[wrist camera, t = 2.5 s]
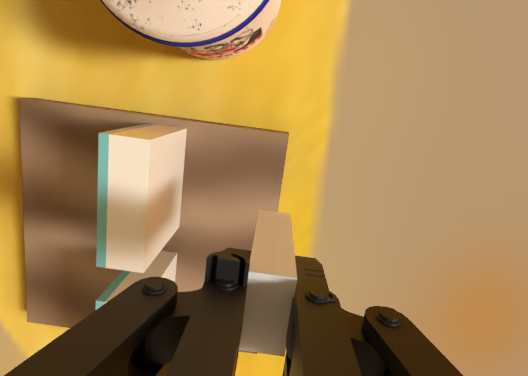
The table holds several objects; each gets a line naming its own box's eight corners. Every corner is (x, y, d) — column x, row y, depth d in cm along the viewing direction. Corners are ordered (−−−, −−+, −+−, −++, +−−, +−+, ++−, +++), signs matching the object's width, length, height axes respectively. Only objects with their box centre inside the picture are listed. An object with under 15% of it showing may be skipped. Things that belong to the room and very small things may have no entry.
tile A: (149, 123, 24) (98, 132, 17) (186, 128, 24) (150, 139, 17) (144, 222, 26) (96, 266, 19) (179, 226, 26) (143, 272, 19)
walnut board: (34, 98, 25) (19, 98, 24) (288, 132, 25) (288, 134, 24) (39, 310, 29) (27, 321, 28) (257, 341, 29) (256, 353, 28)
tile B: (143, 248, 26) (95, 300, 19) (177, 252, 26) (141, 306, 19) (138, 331, 28) (93, 406, 21) (171, 336, 28) (136, 412, 21)
